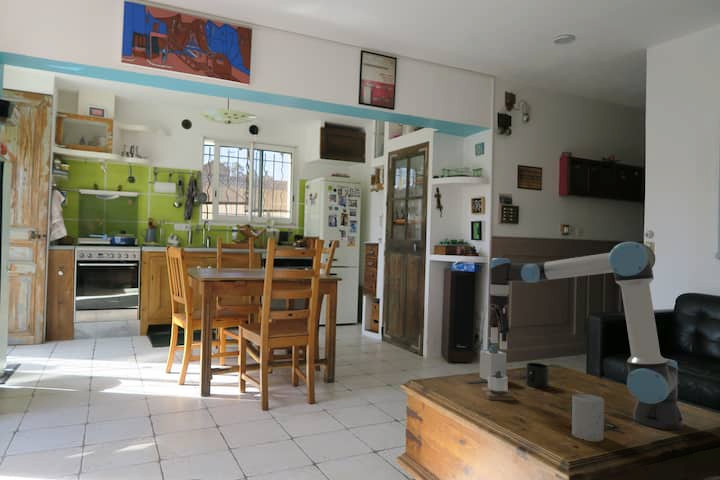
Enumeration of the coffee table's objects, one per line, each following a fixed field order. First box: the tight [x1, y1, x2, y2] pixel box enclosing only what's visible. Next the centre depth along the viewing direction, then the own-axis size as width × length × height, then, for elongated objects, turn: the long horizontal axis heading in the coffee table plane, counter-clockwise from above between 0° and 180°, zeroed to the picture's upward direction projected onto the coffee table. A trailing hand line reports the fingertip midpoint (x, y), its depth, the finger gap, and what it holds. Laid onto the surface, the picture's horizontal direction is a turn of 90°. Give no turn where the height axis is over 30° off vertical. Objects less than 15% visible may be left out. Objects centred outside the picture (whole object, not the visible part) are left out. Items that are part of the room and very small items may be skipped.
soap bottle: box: [479, 336, 507, 382], centre depth 220 cm, size 9×9×19 cm
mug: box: [525, 362, 550, 389], centre depth 211 cm, size 9×12×9 cm
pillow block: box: [481, 371, 515, 401], centre depth 194 cm, size 12×10×10 cm
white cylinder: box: [571, 392, 605, 442], centre depth 153 cm, size 10×10×12 cm
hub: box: [487, 374, 509, 391], centre depth 194 cm, size 7×7×5 cm
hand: (498, 345), depth 195 cm, fingers open, 13 cm apart
